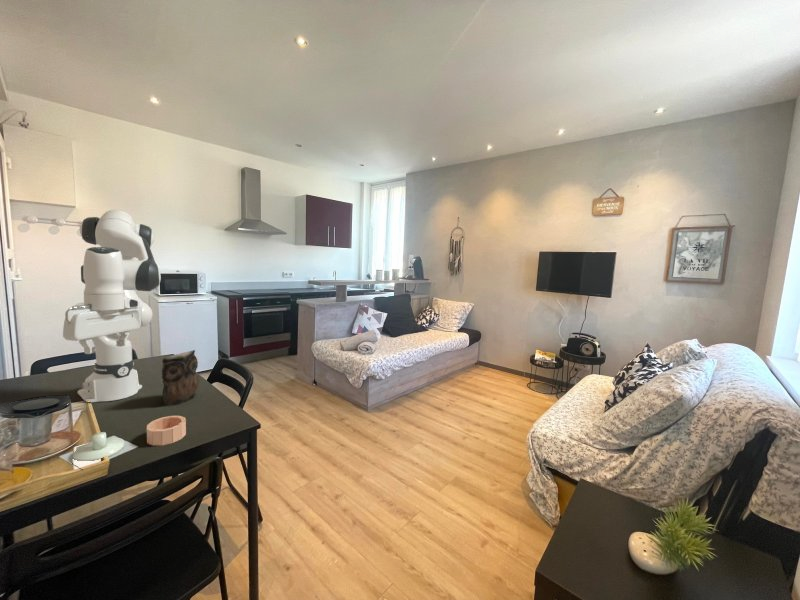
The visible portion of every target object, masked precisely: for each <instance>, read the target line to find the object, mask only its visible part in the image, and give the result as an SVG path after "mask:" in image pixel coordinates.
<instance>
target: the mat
mask: <svg viewBox="0 0 800 600" xmlns="http://www.w3.org/2000/svg"><path fill="white" fill-rule="evenodd" d="M108 438H119V437H118V436H116V435H112V436H109V437H108ZM123 440H124V439H123ZM136 448H139V446H138V445H136V444H133V443H131V442H129V441H127V440H124V448H123V449H122V450H121V451H120V452H118V453H117V454H115V455H113V456H111V457H109V460H110V459H111V460H112V459H113V458H115V457H118V456H120V455H123V454H125V453H127V452H130V451H132V450H134V449H136ZM73 451H74V450H73ZM73 451H70V452H66V453H64V454H61V455H60V456H58V458H60V459H61V460H64V461H65V462H67V463H68V464H69V463H70V464H71V465H72V463H71V461H72V459H73Z"/></svg>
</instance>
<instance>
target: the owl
mask: <svg viewBox="0 0 800 600" xmlns="http://www.w3.org/2000/svg"><path fill="white" fill-rule="evenodd" d="M195 352H196V350H195V349H194V350H193V349H192V350H190V351H186V352H180V353H178V354H174V355H171V356H168V357H164V358H163V359H162V362H161V363H162V368H161V379H162V383H163V387H162V398H163V402H164V406H165V407H172V406H178V405H182V404H183V403H186V402H189V401H190V400H193V399H195V396H196V395H197V391H198V388H199V384H200V379H199V375H198V374H197V373H196V372H197V369H198V366H199V365H198V363H199V362H198V358H197V357H196V355H195Z"/></svg>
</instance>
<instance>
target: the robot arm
mask: <svg viewBox="0 0 800 600" xmlns="http://www.w3.org/2000/svg"><path fill="white" fill-rule="evenodd" d="M135 222H136V221H135V220H134V218H133V217H132V216H131V214H129V213H128V212H126V211H124V210H120V209H110V210H106V212H104V213H103V214H102V216H101V217H98V216H90V217H89V216H88V217H86V218H84V219H83V221H82V222H81V224H80V225H79V233H80V236H81V237H82V238H81V239H82V240H83V241H84V242H85V243H87V244H91V245H93V246H92V247H88V248H86V249H85V253H84V257H83V264H82V265H81V266H80V281H81V282H82V284H84V285H85V287H84V289H83V302H79V303H76V304H75V305H73V306H70V308H68V309H67V310H66V311H65V314H64V316H65V318H64V323H63V330H62V336H63V338H64V339H65V340H66V341H72V342H73V341H74V342H76V341H78V343H79V344H80V345H81V347H82V348H83V353H84V354H85V355H90V354H95V363H94V362H93V363H94V366H93V372H92V373H91V374H90V375H89V376H88V377H86V378H85V381H83V382H82V385H81V386H82V388H81V389H79V390H77V395H78V396H80V397H81V399H82V400H83V401H84V402H85V401H90V402H91V403H97V402H111V401H119V400H122V399H126V398H129V397H131V396H134V395H136V394H137V393H138V392H139V391H140V390H141V389H142V388H143V385H142V384H140V383H139V374H138V371H137V369H134V368H135V362H134V361H135V360H134V359H133V343H132V341H130V339H128V338H129V336H130V331H135V330H136V331H137V330H139V329H140V328H143V327H147V326H148V325H149V324H150V322H152V320H153V316H154V315H153V309H152V308H151V306H149V305H148V303H146V302H144V301H143V300H142V299H141V298H140V297H139V296H138V294H137V292H136V291H138V292H139V291H140V292H152V291H153V290H155V289H156V288H158V287H159V286H160V283H161V280H162V278H161V271H160V268H159V266H158V264H157V263H156V260H155V258H154V254H153V252H152V250H151V247H152V245H153V244H154V240H155V235H154V233H153V230H152V228H151V227H150V226H148V225H146V224H142V223H140V224H139V223H135ZM135 258H136V259H137V260H135ZM91 342H93V343H92V344H93V345H94V346H92V344H91Z"/></svg>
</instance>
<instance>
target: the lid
mask: <svg viewBox="0 0 800 600" xmlns="http://www.w3.org/2000/svg"><path fill="white" fill-rule="evenodd" d="M123 448H124V439H123V438H120V437H118V438H109V437H107V432H105V431H102V432H97V433H94V434H93V435H92V436H91V442H88V443H85V444H83V445H81V446H80V447H78V448H77V449H75V450H76V451H75V450H74V451H75V452H74V453H73V459H74V460H77V461H95V460H99V459H101V458H103V457H105V456H108V457H111V456H113V455H115V454H117V453H118V452H120V451H121V450H122V449H123Z"/></svg>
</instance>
